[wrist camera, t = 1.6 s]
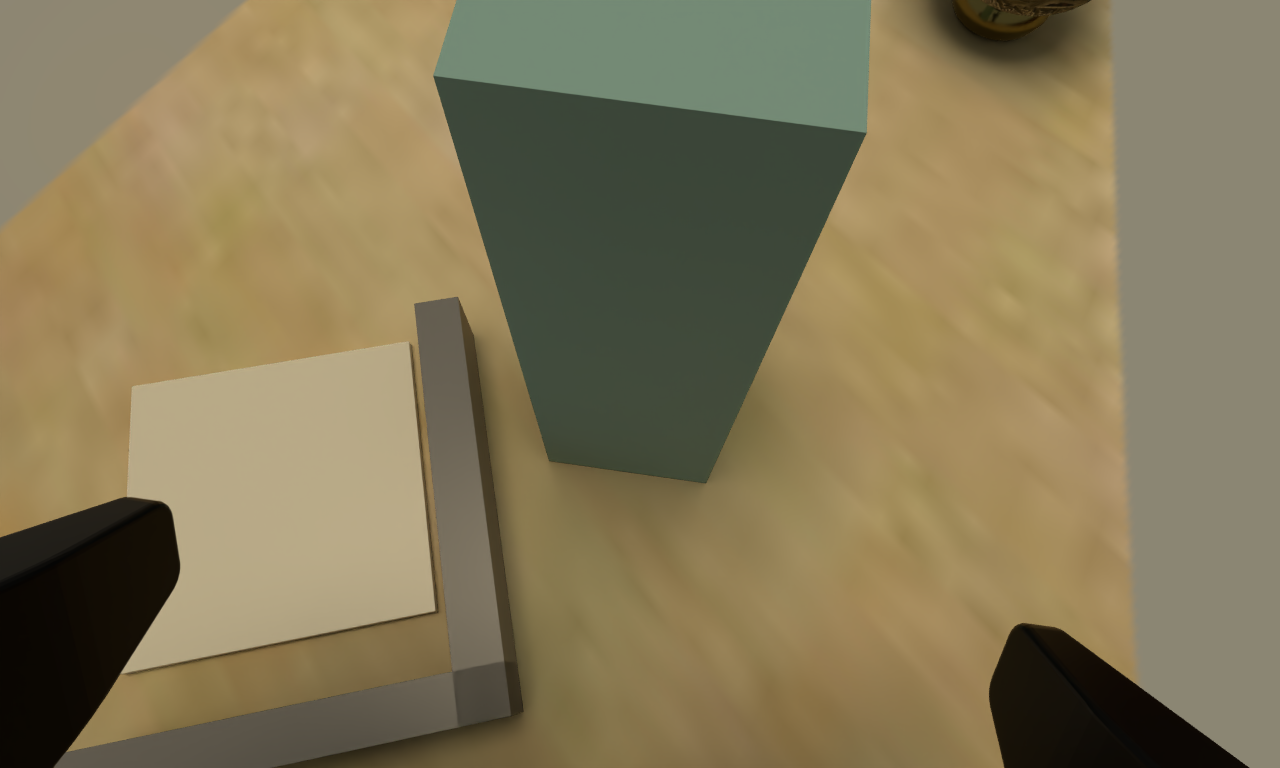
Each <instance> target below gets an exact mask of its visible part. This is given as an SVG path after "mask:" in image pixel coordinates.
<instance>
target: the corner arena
mask: <svg viewBox="0 0 1280 768" xmlns="http://www.w3.org/2000/svg"><path fill="white" fill-rule="evenodd" d="M414 305H415V315H416V325H417V334H418V344H419V354H420V363H421V373H422V383H423V393H424V402H425V412H426V422H427V431H428V441H429V451H430V460H431V470H432V480H433V489H434V499H435V509H436V519H437V528H438V538H439V548H440V557H441V567H442V577H443V586H444V596H445V606H446V616H447V625H448V635H449V645H450V654H451V664H452V672H448V673H443V674H438V675H434V676H429V677H424V678H419V679H414V680H410V681H405V682H400V683H395V684H390V685H386V686H381V687H376V688H371V689H367V690H362V691H357V692H352V693H347V694H343V695H338V696H333V697H328V698H323V699H319V700H314V701H309V702H304V703H300V704H295V705H290V706H285V707H280V708H276V709H271V710H266V711H261V712H256V713H252V714H247V715H242V716H237V717H233V718H228V719H223V720H218V721H213V722H209V723H204V724H199V725H194V726H189V727H185V728H180V729H175V730H170V731H166V732H161V733H156V734H151V735H146V736H142V737H137V738H132V739H127V740H122V741H118V742H113V743H108V744H103V745H99V746H94V747H89V748H84V749H79V750H75V751H70V752H65V754H64V755H63V756H62V758H61V759H60V760H59V761H58V763H57V764H56V765H55V767H54V768H273V767H278V766H282V765H287V764H292V763H296V762H301V761H305V760H310V759H315V758H319V757H324V756H328V755H333V754H338V753H342V752H347V751H352V750H356V749H361V748H365V747H370V746H375V745H379V744H384V743H388V742H393V741H398V740H402V739H407V738H412V737H416V736H421V735H425V734H430V733H435V732H439V731H444V730H448V729H453V728H458V727H462V726H467V725H472V724H476V723H481V722H485V721H490V720H495V719H499V718H504V717H508V716H512V715H515V714H518V713H521V712H523V705H522V697H521V690H520V682H519V675H518V667H517V660H516V652H515V645H514V637H513V629H512V622H511V614H510V607H509V599H508V592H507V584H506V577H505V569H504V562H503V554H502V547H501V539H500V531H499V524H498V516H497V509H496V501H495V494H494V486H493V479H492V471H491V464H490V456H489V449H488V441H487V433H486V426H485V418H484V411H483V403H482V396H481V388H480V381H479V373H478V366H477V358H476V350H475V343H474V335H473V333H472V330H471V328H470V325H469V323H468V320H467V318H466V316H465V313H464V311H463V308H462V306H461V303H460V301H459V298H458V297H453V298H447V299H441V300H434V301H428V302H422V303H416V304H414ZM127 497H135V498H142V499H149V500H156V501H161V502H164V503H165V504H167V505H168V506H169V508H170V509H171V511H172V514H173V519H174V526H175V532H176V538H177V545H178V551H179V558H180V574H179V578H178V581H177V584H176V586H175V588H174V590H173V592H172V593H171V595H170V596H169V598H168V599H167V601H166V603H165V604H164V606H163V607H162V609H161V610H160V612H159V614H158V615H157V617H156V618H155V620H154V622H153V623H152V625H151V626H150V628H149V629H148V631H147V633H146V634H145V636H144V637H143V639H142V640H141V642H140V644H139V645H138V647H137V648H136V650H135V652H134V653H133V655H132V656H131V658H130V659H129V661H128V663H127V664H126V666H125V667H124V669H123V670H122V672H121V674H130V673H135V672H140V671H145V670H150V669H155V668H160V667H165V666H170V665H175V664H180V663H185V662H190V661H195V660H200V659H205V658H210V657H215V656H220V655H225V654H230V653H235V652H240V651H245V650H250V649H255V648H260V647H265V646H270V645H275V644H280V643H285V642H290V641H295V640H300V639H305V638H310V637H315V636H320V635H325V634H330V633H335V632H339V631H344V630H349V629H354V628H359V627H364V626H369V625H374V624H379V623H384V622H389V621H394V620H399V619H404V618H409V617H414V616H419V615H424V614H429V613H434V612H438V608H437V598H436V588H435V578H434V568H433V558H432V548H431V538H430V528H429V518H428V508H427V498H426V488H425V478H424V468H423V457H422V447H421V437H420V427H419V417H418V407H417V397H416V387H415V377H414V367H413V357H412V347H411V344H410V342H409V341H407V342H401V343H395V344H389V345H383V346H377V347H370V348H364V349H358V350H352V351H346V352H340V353H334V354H328V355H322V356H315V357H309V358H303V359H297V360H291V361H285V362H279V363H273V364H267V365H260V366H254V367H248V368H242V369H236V370H230V371H224V372H218V373H212V374H205V375H199V376H193V377H187V378H181V379H175V380H169V381H163V382H157V383H150V384H144V385H138V386H132V398H131V420H130V441H129V463H128V485H127Z"/></svg>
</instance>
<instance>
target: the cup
mask: <svg viewBox="0 0 1280 768" xmlns="http://www.w3.org/2000/svg"><path fill="white" fill-rule="evenodd" d="M1089 1H1090V0H952V2H953V8H954V11H955V13H956V15H957V17H958V19H959V20H960V21H961V22H962V23H963V25H964V26H966V27H967V28H968V29H969V30H971V31H972V32H974V33H976V34H978V35H980V36H982V37H985V38H988V39H993V40H1001V41H1006V40H1014V39H1018V38H1021V37H1023V36H1025V35H1027V34H1029V33H1031V32H1032V31H1034V30H1035V29H1037V28H1038V27H1039V26H1041V25H1042V24H1043V23H1044V22H1045V21H1046V20H1047V18H1048V17H1049V15H1053V14H1058V13H1062V12H1066V11H1069V10H1072V9H1074V8H1076V7H1079V6H1081V5H1083V4H1085V3H1087V2H1089Z"/></svg>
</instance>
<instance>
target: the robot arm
mask: <svg viewBox="0 0 1280 768" xmlns="http://www.w3.org/2000/svg"><path fill="white" fill-rule="evenodd" d="M179 574H180V558H179V551H178V545H177V538H176V532H175V526H174V519H173V514H172V511H171V509H170V508H169V506H168V505H167V504H165V503H164V502H161V501H156V500H149V499H142V498H135V497H124V498H120V499H116V500H113V501H110V502H107V503H104V504H101V505H98V506H95V507H92V508H89V509H86V510H83V511H80V512H77V513H74V514H71V515H67V516H64V517H61V518H58V519H55V520H52V521H49V522H46V523H43V524H40V525H37V526H34V527H31V528H28V529H25V530H22V531H19V532H15V533H12V534H9V535H6V536H3V537H0V768H54V767H55V765H56V764H57V763H58V761H59V760H60V759H61V758H62V756H63V755H64V754H65V752H66V751H67V750H68V748H69V747H70V746H71V745H72V743H73V742H74V741H75V739H76V738H77V737H78V735H79V734H80V733H81V731H82V730H83V729H84V727H85V726H86V724H87V723H88V722H89V720H90V719H91V718H92V716H93V715H94V713H95V712H96V710H97V709H98V707H99V706H100V704H101V703H102V702H103V700H104V699H105V697H106V696H107V694H108V693H109V691H110V689H111V688H112V686H113V685H114V683H115V682H116V680H117V678H118V677H119V675H120V674H121V672H122V670H123V669H124V667H125V666H126V664H127V663H128V661H129V659H130V658H131V656H132V655H133V653H134V652H135V650H136V648H137V647H138V645H139V644H140V642H141V640H142V639H143V637H144V636H145V634H146V633H147V631H148V629H149V628H150V626H151V625H152V623H153V622H154V620H155V618H156V617H157V615H158V614H159V612H160V610H161V609H162V607H163V606H164V604H165V603H166V601H167V599H168V598H169V596H170V595H171V593H172V592H173V590H174V588H175V586H176V584H177V581H178V578H179ZM989 702H990V708H991V712H992V716H993V721H994V725H995V729H996V734H997V738H998V742H999V746H1000V751H1001V755H1002V759H1003V764H1004V768H1249V767H1248V766H1246V765H1245V764H1243V763H1242V762H1241V761H1239V760H1238V759H1237V758H1235V757H1234V756H1233V755H1231V754H1230V753H1229V752H1227V751H1226V750H1224V749H1223V748H1222V747H1220V746H1219V745H1218V744H1216V743H1215V742H1214V741H1212V740H1211V739H1210V738H1208V737H1207V736H1205V735H1204V734H1203V733H1201V732H1200V731H1198V730H1197V729H1196V728H1195V727H1193V726H1192V725H1191V724H1189V723H1188V722H1186V721H1185V720H1184V719H1182V718H1181V717H1179V716H1178V715H1177V714H1175V713H1174V712H1173V711H1172V710H1170V709H1169V708H1167V707H1166V706H1165V705H1163V704H1162V703H1161V702H1159V701H1158V700H1157V699H1155V698H1154V697H1152V696H1151V695H1150V694H1148V693H1147V692H1146V691H1144V690H1143V689H1142V688H1140V687H1139V686H1138V685H1136V684H1135V683H1133V682H1132V681H1131V680H1129V679H1128V678H1127V677H1125V676H1124V675H1123V674H1121V673H1120V672H1118V671H1117V670H1116V669H1114V668H1113V667H1112V666H1110V665H1109V664H1108V663H1106V662H1105V661H1104V660H1102V659H1101V658H1099V657H1098V656H1097V655H1095V654H1094V653H1093V652H1091V651H1090V650H1089V649H1087V648H1086V647H1085V646H1083V645H1082V644H1080V643H1079V642H1078V641H1076V640H1075V639H1074V638H1072V637H1071V636H1070V635H1068V634H1067V633H1065V632H1064V631H1062V630H1061V629H1058V628H1055V627H1049V626H1042V625H1035V624H1028V623H1021V624H1018V625H1016V626H1015V627H1014V628H1013V629H1012V630H1011V632H1010V634H1009V636H1008V639H1007V641H1006V644H1005V646H1004V649H1003V651H1002V654H1001V656H1000V659H999V661H998V664H997V666H996V669H995V671H994V674H993V676H992V679H991V682H990V688H989Z"/></svg>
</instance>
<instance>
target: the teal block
mask: <svg viewBox="0 0 1280 768" xmlns="http://www.w3.org/2000/svg"><path fill="white" fill-rule="evenodd" d="M870 16H871V0H457V1H456V4H455V7H454V11H453V14H452V17H451V20H450V24H449V27H448V30H447V33H446V36H445V40H444V43H443V46H442V49H441V53H440V56H439V59H438V62H437V66H436V69H435V72H434V75H433V76H434V80H435V83H436V86H437V90H438V93H439V96H440V100H441V103H442V106H443V109H444V113H445V116H446V119H447V123H448V126H449V129H450V133H451V136H452V139H453V143H454V146H455V149H456V153H457V156H458V159H459V163H460V166H461V169H462V173H463V176H464V179H465V183H466V186H467V189H468V193H469V196H470V199H471V203H472V206H473V209H474V213H475V216H476V219H477V223H478V226H479V229H480V233H481V236H482V239H483V242H484V246H485V249H486V252H487V256H488V259H489V262H490V266H491V269H492V272H493V276H494V279H495V282H496V286H497V289H498V292H499V296H500V299H501V302H502V306H503V309H504V312H505V316H506V319H507V322H508V326H509V329H510V332H511V336H512V339H513V342H514V346H515V349H516V352H517V356H518V359H519V362H520V366H521V369H522V372H523V376H524V379H525V382H526V385H527V389H528V392H529V395H530V399H531V402H532V405H533V409H534V412H535V415H536V419H537V422H538V425H539V429H540V432H541V435H542V439H543V442H544V445H545V449H546V452H547V455H548V459H549V461H554V462H561V463H568V464H575V465H582V466H589V467H596V468H603V469H610V470H617V471H624V472H631V473H638V474H645V475H652V476H659V477H666V478H673V479H680V480H687V481H694V482H701V483H706V482H707V480H708V478H709V475H710V473H711V471H712V469H713V467H714V464H715V462H716V460H717V458H718V456H719V454H720V451H721V449H722V447H723V445H724V443H725V440H726V438H727V436H728V434H729V432H730V430H731V427H732V425H733V423H734V421H735V419H736V416H737V414H738V412H739V410H740V408H741V406H742V403H743V401H744V399H745V397H746V395H747V392H748V390H749V388H750V386H751V384H752V382H753V379H754V377H755V375H756V373H757V371H758V369H759V366H760V364H761V362H762V360H763V358H764V355H765V353H766V351H767V349H768V347H769V345H770V342H771V340H772V338H773V336H774V334H775V331H776V329H777V327H778V325H779V323H780V321H781V318H782V316H783V314H784V312H785V310H786V307H787V305H788V303H789V301H790V299H791V297H792V294H793V292H794V290H795V288H796V286H797V283H798V281H799V279H800V277H801V275H802V273H803V270H804V268H805V266H806V264H807V262H808V260H809V257H810V255H811V253H812V251H813V249H814V246H815V244H816V242H817V240H818V238H819V236H820V233H821V231H822V229H823V227H824V225H825V222H826V220H827V218H828V216H829V214H830V212H831V209H832V207H833V205H834V203H835V201H836V198H837V196H838V194H839V192H840V190H841V188H842V185H843V183H844V181H845V179H846V177H847V174H848V172H849V170H850V168H851V166H852V164H853V161H854V159H855V157H856V155H857V153H858V151H859V148H860V146H861V144H862V142H863V140H864V137H865V135H866V133H867V107H868V76H869V46H870Z"/></svg>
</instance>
